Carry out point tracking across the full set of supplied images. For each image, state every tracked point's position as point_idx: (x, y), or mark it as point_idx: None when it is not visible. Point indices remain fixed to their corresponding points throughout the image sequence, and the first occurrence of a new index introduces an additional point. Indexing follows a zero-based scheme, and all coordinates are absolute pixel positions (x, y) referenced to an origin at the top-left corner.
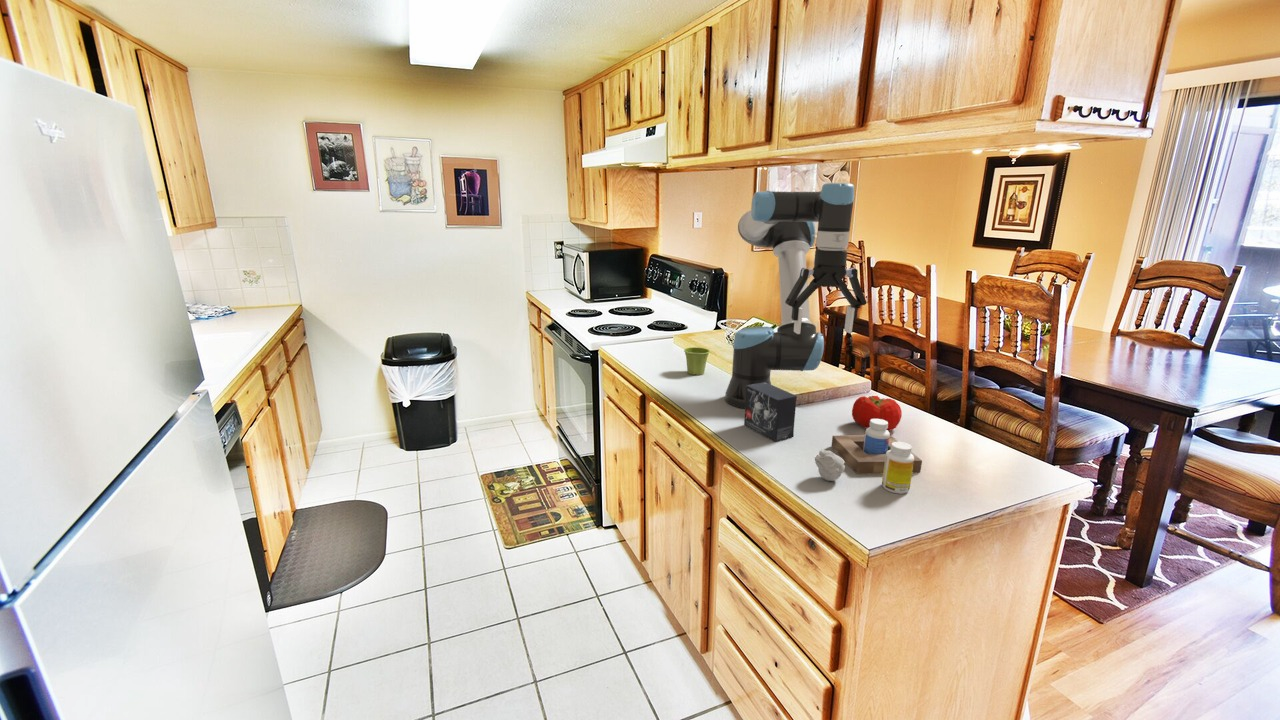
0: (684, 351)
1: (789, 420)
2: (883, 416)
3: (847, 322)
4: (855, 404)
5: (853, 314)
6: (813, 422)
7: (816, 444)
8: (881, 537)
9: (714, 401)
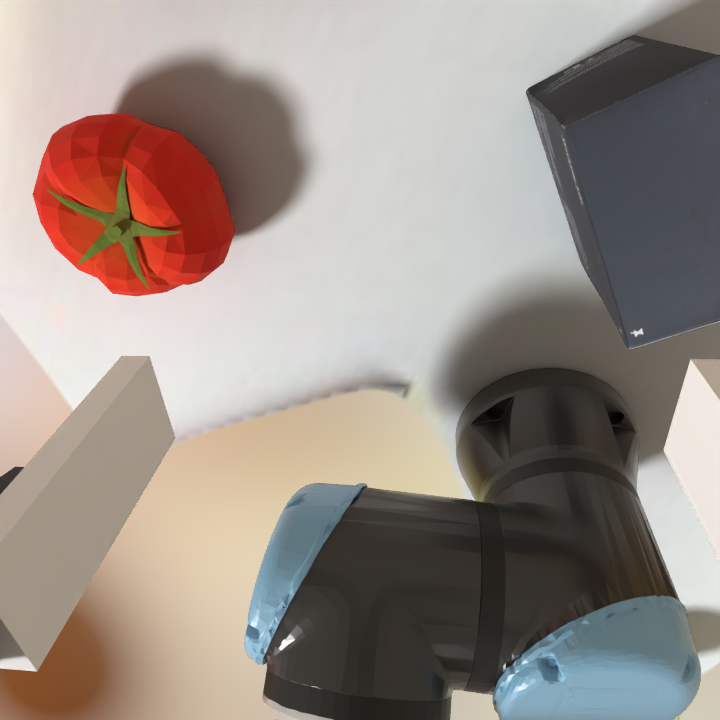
0: (678, 716)
1: (576, 85)
2: (120, 129)
3: (120, 466)
4: (212, 244)
5: (2, 499)
6: (381, 243)
7: (456, 4)
8: None
9: None
